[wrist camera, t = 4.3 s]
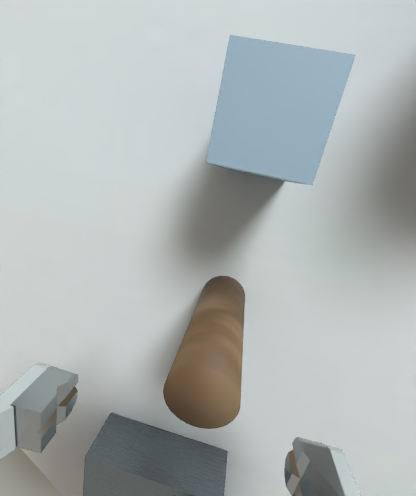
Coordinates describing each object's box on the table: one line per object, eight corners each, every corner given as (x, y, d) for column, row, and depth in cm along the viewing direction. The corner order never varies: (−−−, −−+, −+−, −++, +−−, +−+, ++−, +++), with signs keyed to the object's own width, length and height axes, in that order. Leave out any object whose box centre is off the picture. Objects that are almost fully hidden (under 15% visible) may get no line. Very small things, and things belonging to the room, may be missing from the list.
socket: (227, 451, 23) (223, 505, 19) (203, 522, 27) (195, 579, 23) (110, 412, 24) (85, 456, 20) (103, 486, 28) (80, 535, 24)
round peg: (249, 282, 18) (249, 380, 9) (239, 318, 19) (230, 437, 10) (207, 271, 18) (169, 356, 9) (199, 307, 19) (158, 414, 10)
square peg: (305, 111, 14) (355, 54, 7) (285, 181, 15) (312, 184, 9) (238, 99, 14) (230, 34, 8) (224, 168, 16) (205, 162, 9)
